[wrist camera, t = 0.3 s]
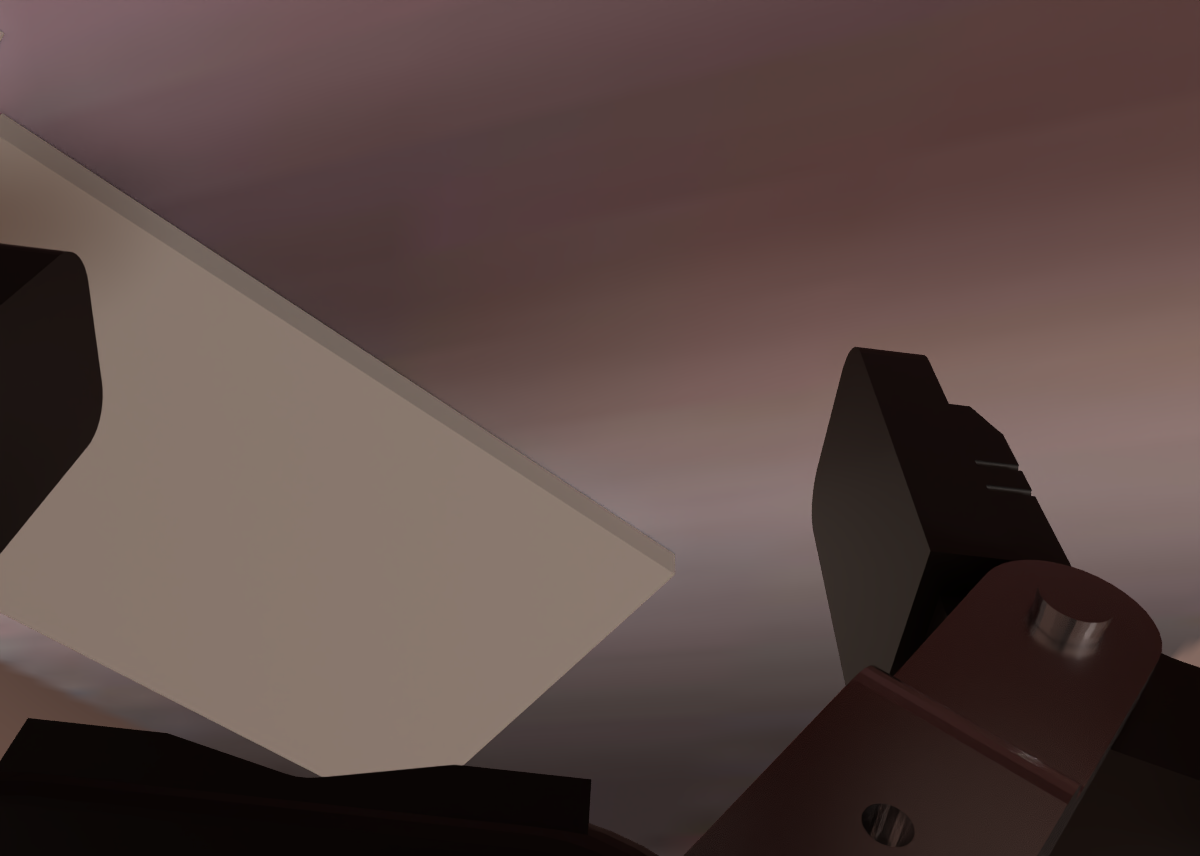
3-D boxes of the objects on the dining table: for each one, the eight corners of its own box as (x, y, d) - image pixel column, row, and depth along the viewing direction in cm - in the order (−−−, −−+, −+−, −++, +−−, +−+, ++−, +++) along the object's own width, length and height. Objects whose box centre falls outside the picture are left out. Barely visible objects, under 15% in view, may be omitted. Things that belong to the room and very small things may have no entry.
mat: (-182, 491, 36) (-202, 509, 36) (2, 113, 29) (-17, 126, 28) (408, 797, 44) (404, 818, 43) (674, 554, 36) (674, 574, 36)
